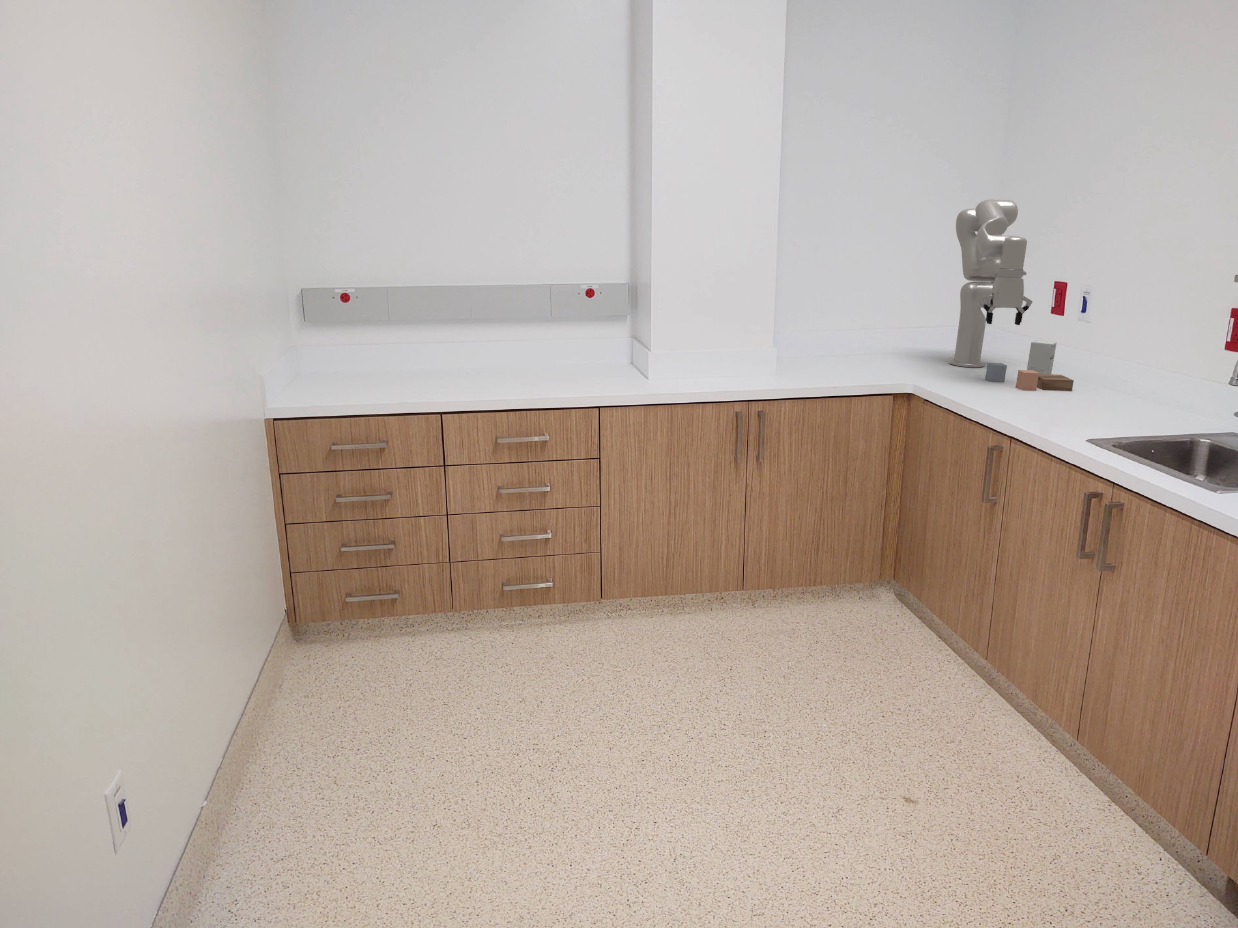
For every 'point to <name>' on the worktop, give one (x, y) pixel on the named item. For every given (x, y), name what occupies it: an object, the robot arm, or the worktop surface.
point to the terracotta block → (1027, 380)
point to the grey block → (995, 372)
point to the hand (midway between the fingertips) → (1003, 324)
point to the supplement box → (1041, 356)
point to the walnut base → (1054, 382)
